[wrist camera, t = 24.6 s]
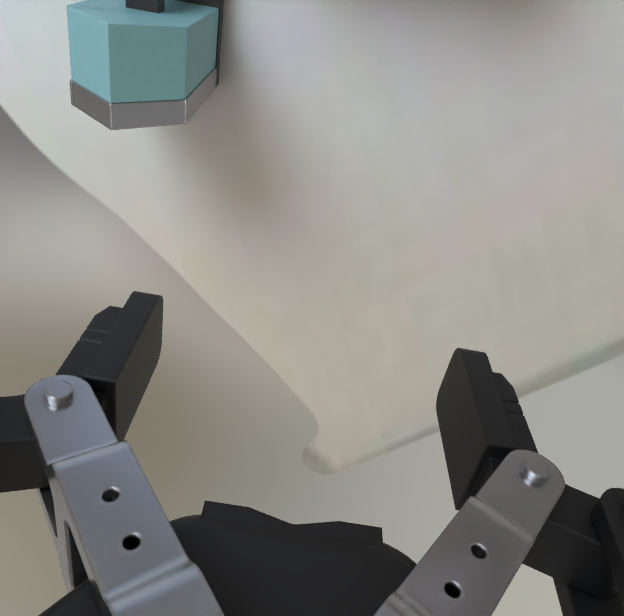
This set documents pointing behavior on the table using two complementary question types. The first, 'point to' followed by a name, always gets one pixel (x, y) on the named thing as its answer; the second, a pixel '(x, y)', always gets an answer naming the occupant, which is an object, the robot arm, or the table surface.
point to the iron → (143, 59)
